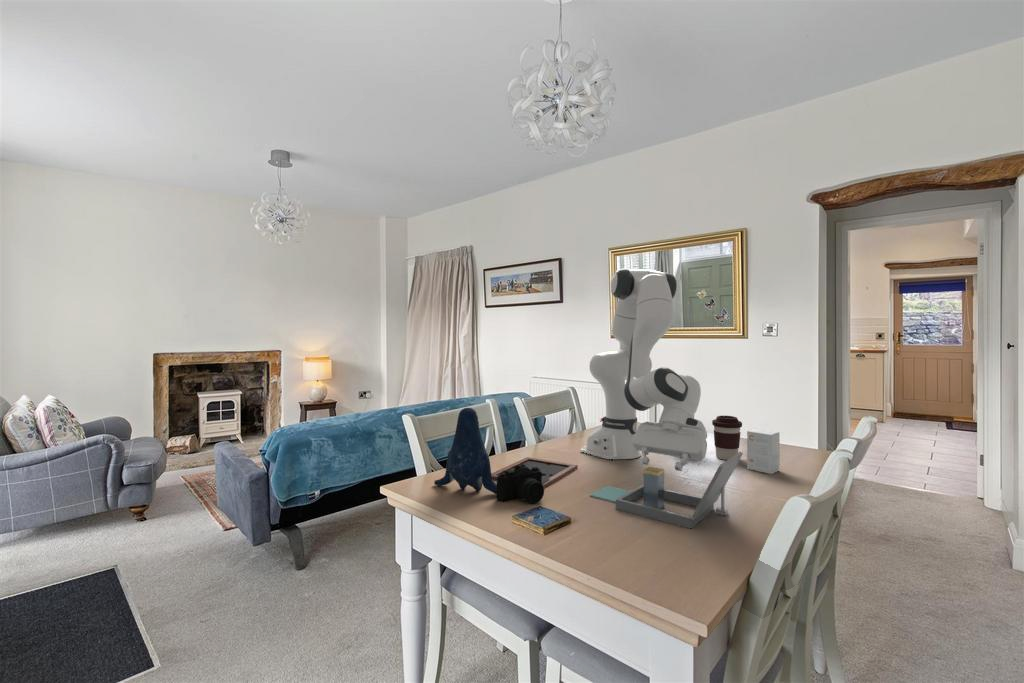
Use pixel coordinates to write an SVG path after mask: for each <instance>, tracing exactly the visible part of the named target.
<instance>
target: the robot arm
mask: <svg viewBox="0 0 1024 683" xmlns="http://www.w3.org/2000/svg"><path fill="white" fill-rule="evenodd" d="M677 285H678V284H677V279H676V277H675V275H673V274H671V273H669V272H667V271H666V272H665V271H663V272H661V271H657V270H653V269H648V268H647V269H640V268H639V269H638V268H636V269H635V268H634V269H633V268H630V269H629V268H619V269H617V270H616V271H615V272H614V273H613V275H612V278H611V280H610V292H611V294H612V296H613V297H615V299H617V302H616V307H615V310H614V316H613V323H612V328H611V334H612V337H613V338H614V339H615V340H616V341H618V343H619V350H617V351H616V350H615V351H612V350H611V351H603V352H600V353H597V354H594V355H593V356H592V357H591V359H590V360H589V372H590V374H591V376H592V378H593V379H595V380H596V381H597V382H598V383H599V384H600V386H601V388H602V390H603V393H604V398H605V416H603V417H602V418H600V419H599V422H600V423H601V422H602V423H601V426H599V427H598V428H597V429H595V430H593V432H591V433H590V434H589V435H588V437H587V440H586V445H584V446H582V447H581V448H580V453H583V452H584V453H583V454H586V453H587V455H590V454H591V456H594V457H598V458H603V459H606V460H609V459H610V460H611V459H613V460H631V459H636V458H639V457H641V455H642V458H641V465H645V466H649V463H650V461H651V460H650V458H649V456H648V455H649V453H651V454H652V453H653V454H658V455H664V456H671V457H677V458H681V459H680V460H679V461H675V464H674V470H675V471H677V472H682V471H683V468H684V466H686V465H688V463H689V462H690V460H695V461H702V460H703V459H705V458H706V454H707V451H708V450H707V449H708V441H707V439H708V433H707V432H708V431H707V430H706V427H705V425H704V423H703V422H702V421H701V420H699V419H696V418H695V414H696V412H697V411H698V408H699V404H700V400H701V395H702V394H701V393H702V391H701V384H700V382H699V381H698V380H697V379H696V378H694V377H693V376H691V375H688V374H679V373H677V372H675V370H673V369H670V368H669V367H664V366H662V367H659V368H656V369H654V370H652V368H653V366H652V365H653V364H652V362H653V361H652V358H651V357H650V356H651V351H652V349H653V348H654V346H655V345H656V344H657V343H658V342H659V340H660V339H661V338H662V337H663V336H664V335H665V334H666V333H668V331H669V330H670V329H671V327H672V326H673V321H674V316H675V314H674V313H675V312H674V303H673V299H674V297H675V295H676V292H677V289H678V288H677V287H678V286H677ZM657 405H661V406H662V407H663V408H662V409H663V410H662V412H661V414H660V417H659V420H658V422H651V421H644V422H641V423H640V424H639V425H638V417H637V411H640V412H642V411H643V412H645V411H647V410H649V409H651V408H653V407H654V406H657ZM693 416H694V418H693Z"/></svg>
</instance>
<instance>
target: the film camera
mask: <svg viewBox="0 0 1024 683" xmlns="http://www.w3.org/2000/svg"><path fill="white" fill-rule="evenodd" d="M543 475H544V476H546V474H542V473H541V471H540V470H539V469H538V467H532V469H531V470H530V469H529V468H528V467H526V466H525V465H524V464H522V465H516V468H515V469H514V470H504V471H502V472H501V473H500V475H499V476H497V481H496V484H497V494H496V501H497V502H500V503H507V502H511V501H515V500H521V501H526V502H527V503H531V504H537V503H539V502H540V501H541V500H542V499H543V498H544V494H545V488H543V485H542V476H543Z"/></svg>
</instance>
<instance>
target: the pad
mask: <svg viewBox="0 0 1024 683" xmlns="http://www.w3.org/2000/svg"><path fill="white" fill-rule="evenodd" d="M630 491H631V490H626V489H622V488H618V487H614V486H611V485H610V486H609V485H606V486H604V487H602V488H600V489H598V490H596V491H594V492H592V493H590V494H589V497H592V498H595V499H600V500H604V501H608V502H612V503H614V504H616V499H618V498H619V497H621V496H623V495H625V494H627V493H628V492H630Z"/></svg>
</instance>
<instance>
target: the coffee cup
mask: <svg viewBox="0 0 1024 683" xmlns="http://www.w3.org/2000/svg"><path fill="white" fill-rule="evenodd" d="M711 424H712V426H713V439H714V447H715V457H716V458H718V459H719V460H723V461H727V460H728V459H730V458H731V457H733V456H734V455H736V454H737V453H739V448H740V444H741V442H740V440H741V428H742V427H743V422H742V421H740V420H739V419H738V417H737V416H734V415H733V416H732V415H717V416H716V418H715V419H713V420H712V421H711Z"/></svg>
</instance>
